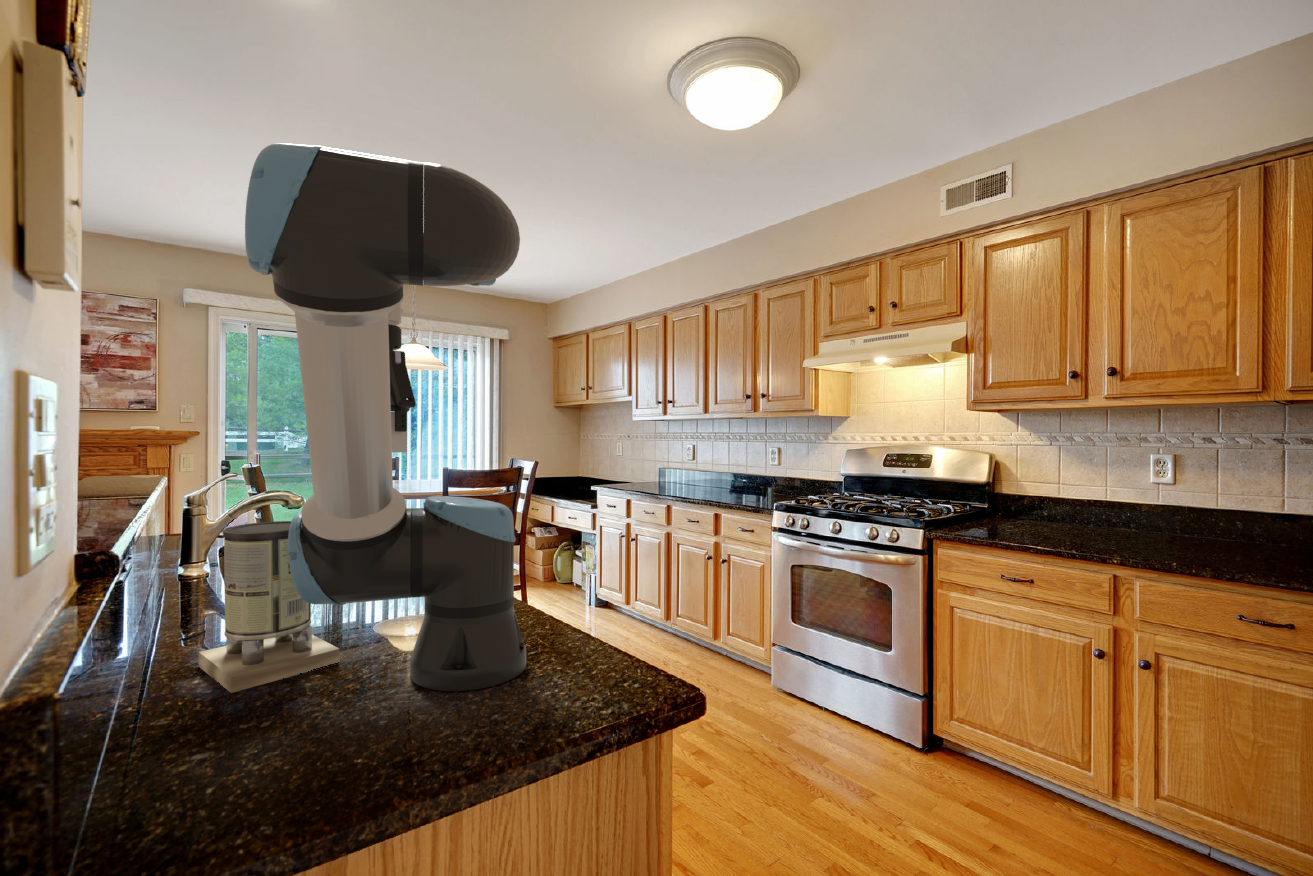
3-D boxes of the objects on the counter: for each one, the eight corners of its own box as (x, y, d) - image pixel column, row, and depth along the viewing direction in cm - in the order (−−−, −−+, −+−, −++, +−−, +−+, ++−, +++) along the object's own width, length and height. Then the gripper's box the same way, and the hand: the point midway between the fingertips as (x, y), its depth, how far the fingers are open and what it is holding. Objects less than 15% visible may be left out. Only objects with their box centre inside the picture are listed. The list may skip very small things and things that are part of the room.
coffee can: (245, 618, 91) (245, 521, 90) (322, 615, 92) (322, 520, 92) (206, 643, 80) (206, 533, 80) (293, 639, 82) (293, 532, 82)
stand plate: (339, 663, 87) (339, 648, 87) (231, 693, 77) (231, 676, 77) (301, 642, 95) (301, 628, 95) (198, 666, 85) (198, 652, 85)
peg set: (315, 649, 87) (315, 627, 87) (245, 666, 80) (245, 643, 80) (290, 636, 92) (290, 615, 92) (224, 651, 86) (223, 629, 86)
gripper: (438, 320, 100) (437, 452, 101) (364, 333, 116) (364, 448, 116) (393, 313, 94) (393, 454, 95) (321, 328, 110) (321, 449, 111)
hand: (377, 451), depth 106 cm, fingers open, 13 cm apart
